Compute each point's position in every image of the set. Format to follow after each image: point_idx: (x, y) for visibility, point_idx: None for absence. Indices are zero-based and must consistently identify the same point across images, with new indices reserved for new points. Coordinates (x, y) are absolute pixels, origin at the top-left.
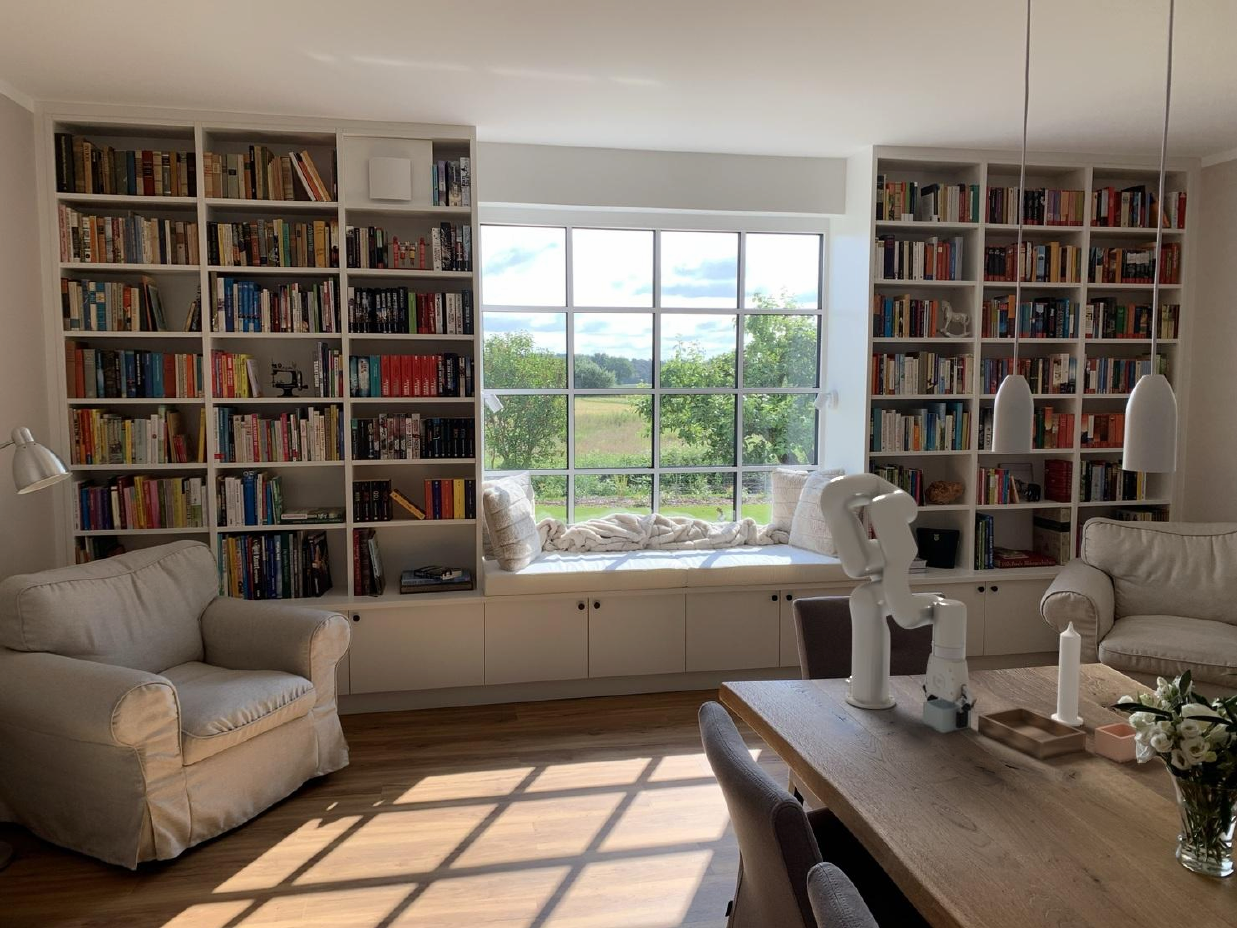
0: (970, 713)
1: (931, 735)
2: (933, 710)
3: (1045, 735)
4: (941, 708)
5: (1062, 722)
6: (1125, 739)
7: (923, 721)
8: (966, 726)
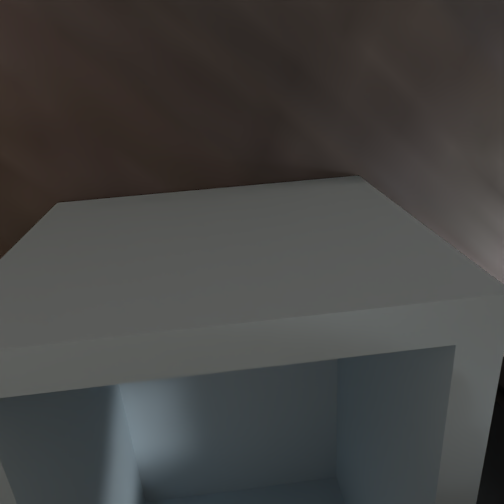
0: None
1: (15, 29)
2: (195, 283)
3: None
4: (372, 475)
5: None
6: None
7: (355, 183)
8: None
